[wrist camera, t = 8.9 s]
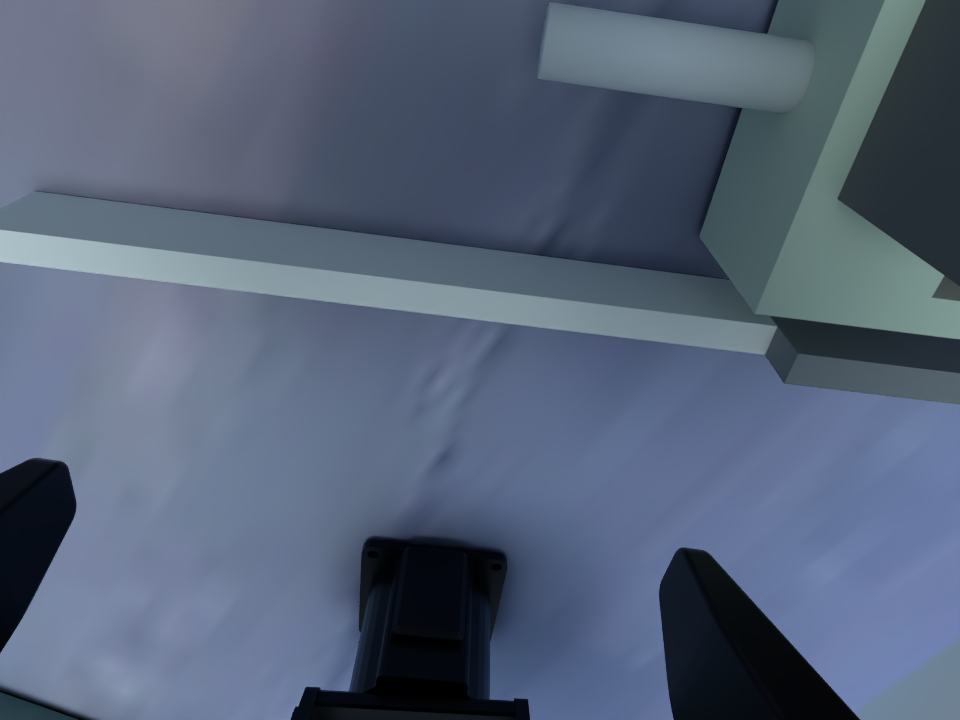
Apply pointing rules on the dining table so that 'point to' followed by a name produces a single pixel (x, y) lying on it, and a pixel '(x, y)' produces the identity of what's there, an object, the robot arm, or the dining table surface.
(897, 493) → the dining table surface
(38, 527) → the robot arm
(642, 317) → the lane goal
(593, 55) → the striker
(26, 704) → the tea set
